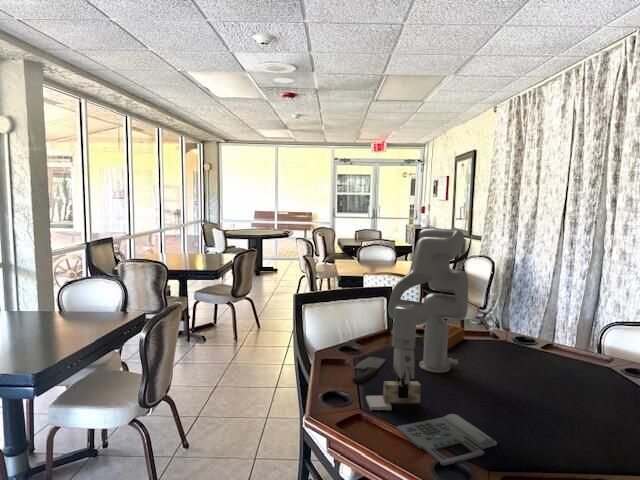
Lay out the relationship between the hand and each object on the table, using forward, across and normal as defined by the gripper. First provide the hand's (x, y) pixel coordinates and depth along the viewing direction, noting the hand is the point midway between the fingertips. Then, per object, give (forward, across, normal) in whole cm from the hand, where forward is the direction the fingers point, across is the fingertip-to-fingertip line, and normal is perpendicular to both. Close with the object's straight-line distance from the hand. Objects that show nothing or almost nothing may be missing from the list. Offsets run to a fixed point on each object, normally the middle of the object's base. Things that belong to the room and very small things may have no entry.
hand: (401, 394), depth 141 cm
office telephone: (+4, -21, -8) cm, 23 cm away
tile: (+3, 0, +4) cm, 5 cm away
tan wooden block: (+2, 0, 0) cm, 2 cm away
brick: (+4, +67, -40) cm, 78 cm away
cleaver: (+4, +31, +6) cm, 32 cm away
